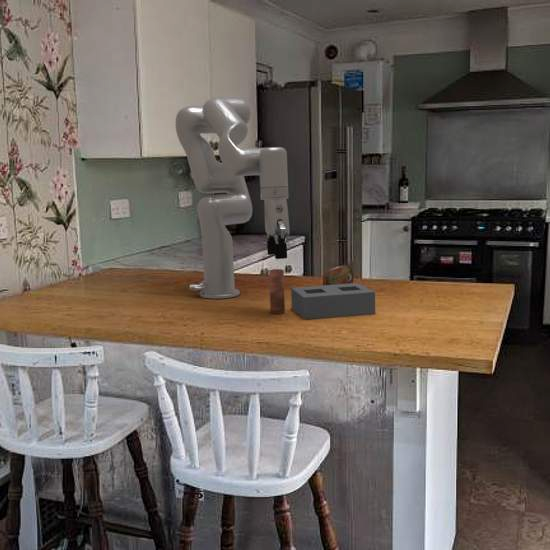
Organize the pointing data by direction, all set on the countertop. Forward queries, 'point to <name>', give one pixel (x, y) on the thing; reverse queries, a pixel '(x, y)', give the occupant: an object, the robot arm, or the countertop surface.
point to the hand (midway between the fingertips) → (277, 256)
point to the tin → (338, 276)
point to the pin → (277, 291)
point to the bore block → (332, 300)
